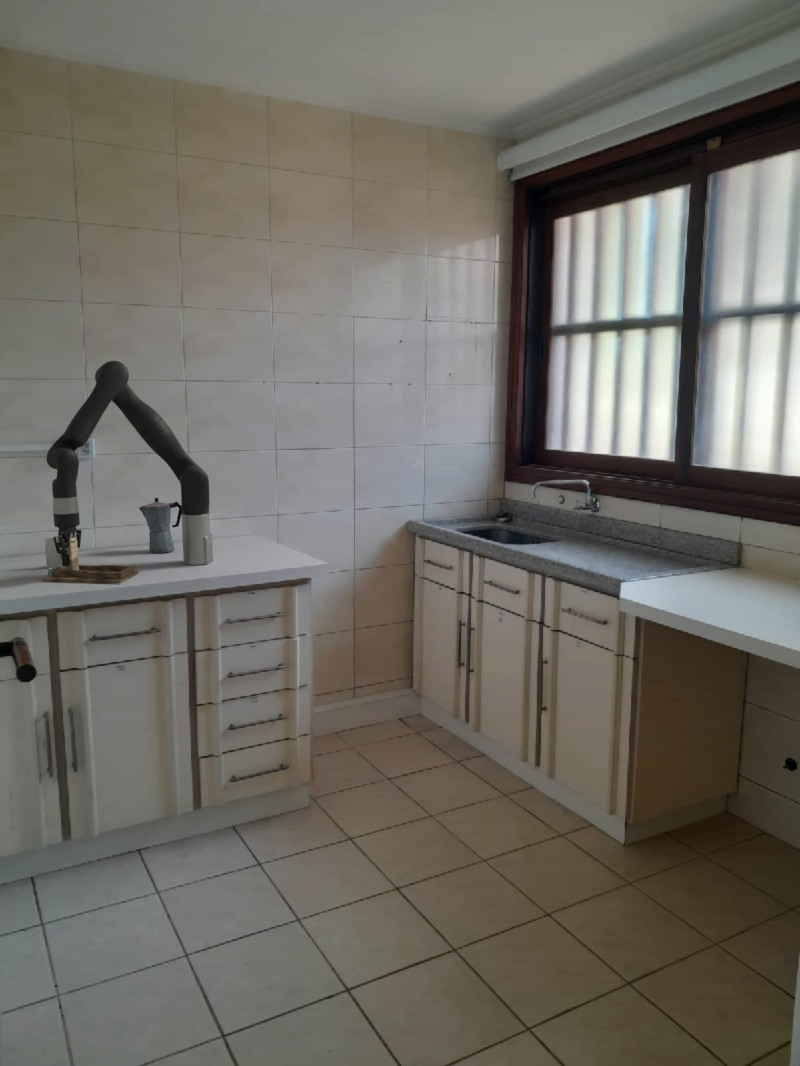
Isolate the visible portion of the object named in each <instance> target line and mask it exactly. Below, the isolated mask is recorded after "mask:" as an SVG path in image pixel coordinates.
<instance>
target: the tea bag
mask: <svg viewBox="0 0 800 1066" xmlns="http://www.w3.org/2000/svg"><path fill="white" fill-rule="evenodd" d="M53 538H54V537H49V538H45V539H44V541H45V542H44V543H45V545H44V546H45V548H44V549H45V562H46V568H47V569H48V570H49V568H54V567H56V566H58V565H60V554H58V553H57V550H56V547H55V543H54V540H53Z"/></svg>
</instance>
